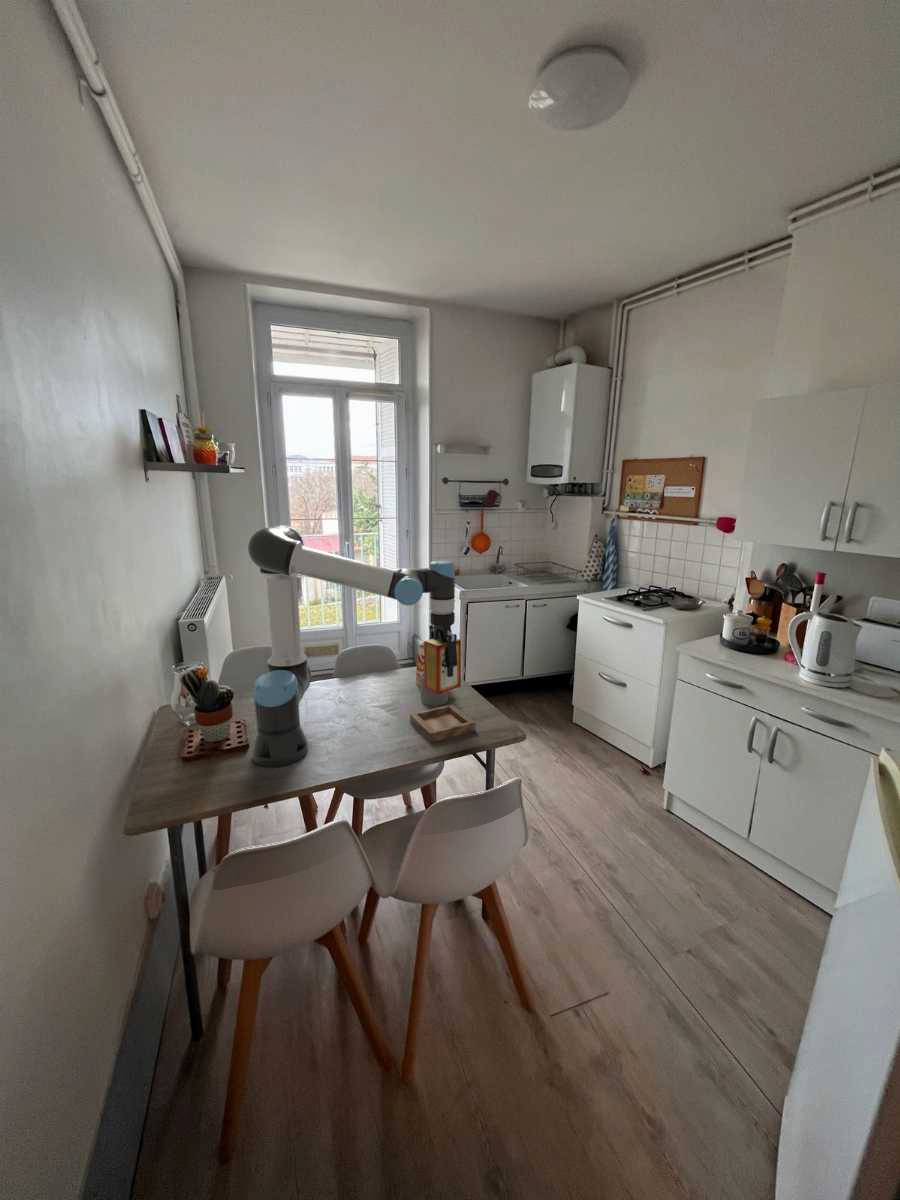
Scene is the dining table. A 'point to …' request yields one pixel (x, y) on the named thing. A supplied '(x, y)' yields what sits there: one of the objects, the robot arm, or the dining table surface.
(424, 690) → the coffee mug
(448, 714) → the tray
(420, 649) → the milk carton
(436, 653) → the baking soda box
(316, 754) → the dining table surface
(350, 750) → the dining table surface
